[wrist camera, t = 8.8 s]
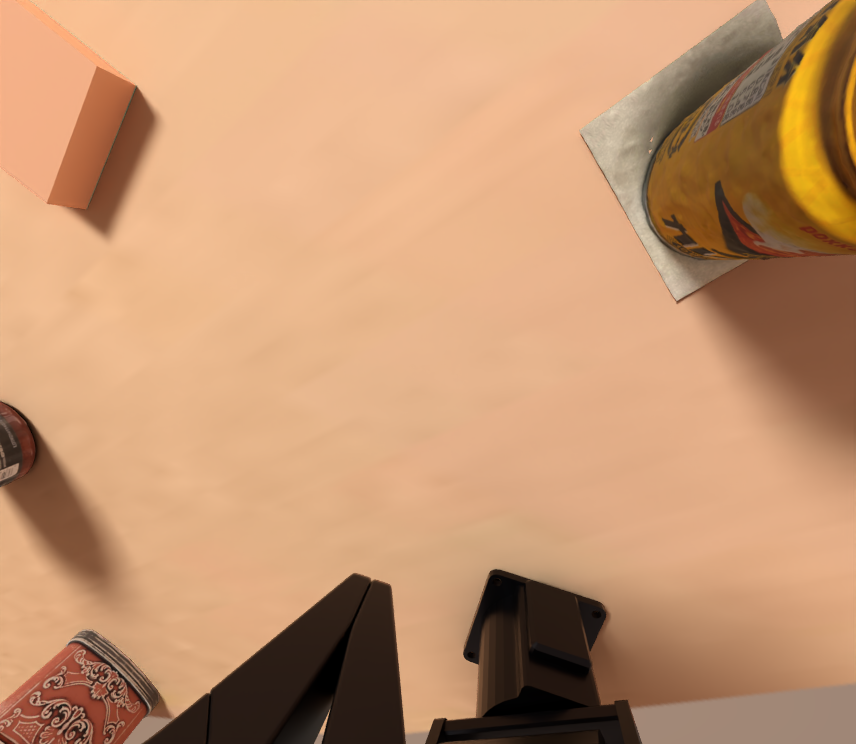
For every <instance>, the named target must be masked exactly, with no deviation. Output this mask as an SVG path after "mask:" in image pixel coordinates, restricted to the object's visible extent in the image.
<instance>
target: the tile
mask: <svg viewBox="0 0 856 744" xmlns="http://www.w3.org/2000/svg"><path fill="white" fill-rule="evenodd" d="M136 87H137V86H136V85H135V84H134V83H132V82H131V81H130V80H129V79H127V78H126V77H125V76H124V75H122V74H121V73H120V72H119V71H117V70H116V69H115V68H114V67H112V66H111V65H110V64H109V63H107V62H106V61H105V60H104V59H102V58H101V57H100V56H99V55H97V54H96V53H95V52H94V51H92V50H91V49H90V48H89V47H87V46H86V45H85V44H84V43H82V42H81V41H80V40H79V39H77V38H76V37H75V36H74V35H72V34H71V33H70V32H69V31H67V30H66V29H65V28H64V27H62V26H61V25H60V24H59V23H57V22H56V21H55V20H54V19H52V18H51V17H50V16H49V15H47V14H46V13H45V12H44V11H42V10H41V9H40V8H39V7H37V6H36V5H35V4H34V3H32V2H31V1H30V0H0V167H1V168H2V169H3V170H4V171H6V172H7V173H8V174H10V175H11V176H12V177H13V178H15V179H16V180H17V181H18V182H20V183H21V184H22V185H24V186H25V187H26V188H27V189H29V190H30V191H31V192H32V193H34V194H35V195H36V196H38V197H39V198H40V199H41V200H43V201H44V202H45V203H46V204H53V205H60V206H67V207H74V208H81V209H87V208H88V206H89V203H90V201H91V198H92V196H93V193H94V191H95V188H96V186H97V183H98V181H99V178H100V176H101V173H102V171H103V169H104V166H105V164H106V161H107V159H108V156H109V154H110V151H111V149H112V146H113V144H114V141H115V139H116V136H117V134H118V131H119V129H120V126H121V124H122V122H123V119H124V117H125V114H126V112H127V109H128V107H129V104H130V102H131V99H132V97H133V94H134V92H135V89H136Z"/></svg>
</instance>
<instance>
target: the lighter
mask: <svg viewBox="0 0 856 744" xmlns="http://www.w3.org/2000/svg"><path fill="white" fill-rule="evenodd" d="M159 699H160V697H159V693H158V691H157V690H156V688H155V687H154V686H153V685H152V683H151V682H150V681H149V680H148V678H147V677H146V676H145V675H144V674H143V673H142V672H141V670H140V669H139V668H138V667H137V666H136V665H135V664H134V663H133V662H132V661H131V660H130V659H129V658H128V657H127V656H126V655H124V654H123V653H122V652H121V651H120V650H119V649H118V648H116V647H115V646H114V645H113V644H112V643H110V642H109V641H108V640H106V639H105V638H104V637H102V636H101V635H100V634H98V633H97V632H95V631H93V630H89V629H86V630H82V631H80V632H79V633H78V634H77V635H76V636H74V637H73V638H72V639H71V640H70V641H69V642H68V643H67V645H66V647H65V648H64V649H63V650H62V651H61V652H60V653H59V654H57V655H56V656H55V657H54V658H53V659H52V660H50V661H49V662H48V663H47V664H46V665H45V666H44V667H42V668H41V669H40V670H39V671H38V672H37V673H36V674H34V675H33V676H32V677H31V678H30V679H29V680H28V681H26V682H25V683H24V684H23V685H22V686H21V687H19V688H18V689H17V690H16V691H15V692H14V693H13V694H11V695H10V696H9V697H8V698H7V699H6V700H5V701H3V702H2V703H1V704H0V744H123V743H124V741H125V740H126V739H127V738H128V736H129V735H130V734H131V732H132V731H133V730H134V729H135V727H136V726H137V725H138V724H139V722H140V721H141V720H142V719H143V718H145V717H147V716H148V715H149V714H150V712H151V711H152V710H153V709H154V707H155V706H156V705H157V703H158V702H159Z"/></svg>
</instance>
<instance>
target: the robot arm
mask: <svg viewBox="0 0 856 744" xmlns="http://www.w3.org/2000/svg"><path fill="white" fill-rule="evenodd" d="M495 578H499V579H500V580H499V581H496V580H494V579H495ZM593 611H598V612H593ZM605 618H606V612H605V609H604V606H603V605H602V604H601V603H600V602H598V601H595V600H591V599H588V598H585V597H582V596H579V595H576V594H573V593H570V592H567V591H564V590H561V589H557V588H554V587H551V586H548V585H545V584H542V583H539V582H536V581H533V580H530V579H526V578H523V577H520V576H517V575H514V574H511V573H508V572H505V571H502V570H497V569H495V570H492V571H490V573H489V575H488V578H487V580H486V583H485V586H484V589H483V592H482V595H481V598H480V601H479V604H478V607H477V610H476V613H475V616H474V619H473V622H472V625H471V627H470V630H469V633H468V636H467V639H466V642H465V645H464V652H463V655H464V658H465V659H466V660H468V661H470V662H473V663H476V664H478V665H479V670H478V690H477V709H476V718H466V719H456V720H447V719H446V718H440V719H434V721H433V724H432V726H431V729H430V732H429V735H428V738H427V740H426V743H425V744H642V742H641V739H640V736H639V733H638V730H637V727H636V724H635V721H634V718H633V715H632V712H631V709H630V706H629V703H628V700H621V701H614V702H615V704H609V705H601V702H600V698H599V693H598V689H597V685H596V681H595V676H594V672H593V668H592V660H591V655H590V651H591V648H592V646H593V644H594V642H595V640H596V638H597V635H598V633H599V631H600V629H601V627H602V625H603V622H604V620H605ZM329 710H330V712H329ZM328 712H329V716H328V720H327V724H326V728H325V732H324V736H323V740H322V744H406V741H405V730H404V719H403V708H402V697H401V686H400V675H399V664H398V653H397V642H396V631H395V620H394V609H393V598H392V588H391V585H390V584H388V583H385V582H382V581H379V580H373V581H371V578H369V577H367V576H364V575H360V574H357V573H353V574H352V575H350V576H349V577H348V578H347V579H345V580H344V581H343V582H342V583H340V584H339V585H338V586H337V587H336V588H334V589H333V590H332V591H331V592H330V593H328V594H327V595H326V596H325V597H323V598H322V599H321V600H320V601H319V602H317V603H316V604H315V605H314V606H312V607H311V608H310V609H309V610H308V611H306V612H305V613H304V614H303V615H301V616H300V617H299V618H298V619H297V620H295V621H294V622H293V623H292V624H290V625H289V626H288V627H287V628H286V629H284V630H283V631H282V632H281V633H279V634H278V635H277V636H276V637H275V638H273V639H272V640H271V641H270V642H268V643H267V644H266V645H265V646H264V647H262V648H261V649H260V650H259V651H257V652H256V653H255V654H254V655H253V656H251V657H250V658H249V659H248V660H247V661H245V662H244V663H243V664H242V665H240V666H239V667H238V668H237V669H236V670H234V671H233V672H232V673H231V674H229V675H228V676H227V677H226V678H225V679H223V680H222V681H221V682H220V683H218V684H217V685H216V686H215V687H214V688H212V689H211V691H210V694H209V693H206V694H205V695H203V696H202V697H201V698H200V699H199V700H197V701H196V702H195V703H194V704H193V705H191V706H190V707H189V708H188V709H186V710H185V711H184V712H183V713H181V714H180V715H179V716H178V717H176V718H175V719H174V720H172V721H171V722H170V723H169V724H167V725H166V726H165V727H164V728H162V729H161V730H160V731H158V732H157V733H156V734H155V735H153V736H152V737H151V738H149V739H148V740H147V741H145V742H144V743H142V744H314V742H315V740H316V738H317V736H318V734H319V732H320V729H321V727H322V725H323V723H324V721H325V719H326V717H327V714H328Z"/></svg>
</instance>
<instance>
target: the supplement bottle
mask: <svg viewBox="0 0 856 744" xmlns="http://www.w3.org/2000/svg"><path fill="white" fill-rule="evenodd" d="M35 453H36V452H35V443H34V440H33V436H32V434H31V432H30V429H29V427H28V425H27V423H26V422H25V420H23V419H22V418H21V417H20V416H19V415H18V414H17V413H16V412H15V411H14V410H13V409H12V408H10V407H9V406H7V405H6V404H4V403H2V402H0V487H1V486H4V485H6V484H9V483H11V482H12V481H14V480H16V479H18V478H20V477H22V476H23V475H25V474H27V473H28V471H29V470H30V468H31V467H32V464H33V462H34V459H35Z"/></svg>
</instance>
